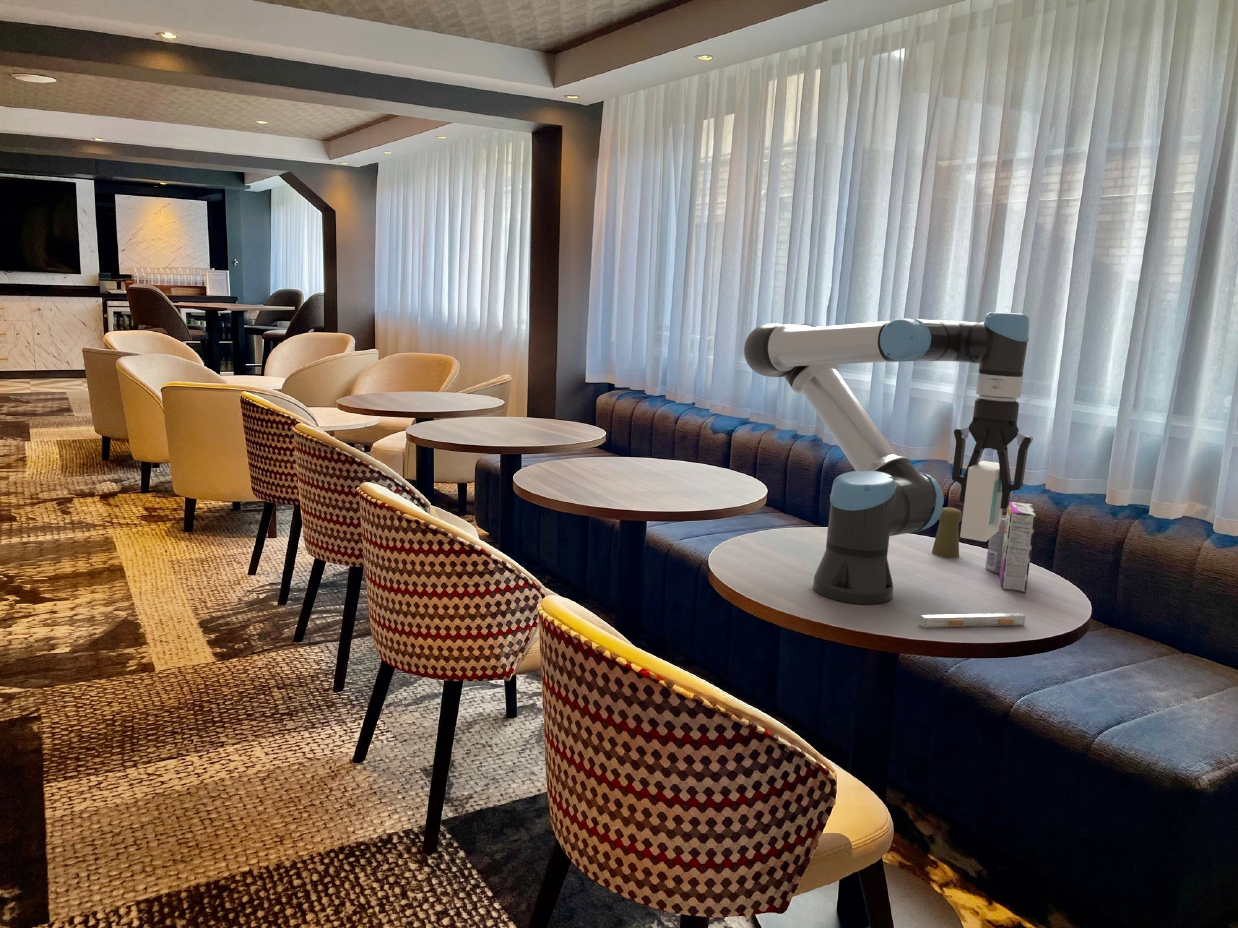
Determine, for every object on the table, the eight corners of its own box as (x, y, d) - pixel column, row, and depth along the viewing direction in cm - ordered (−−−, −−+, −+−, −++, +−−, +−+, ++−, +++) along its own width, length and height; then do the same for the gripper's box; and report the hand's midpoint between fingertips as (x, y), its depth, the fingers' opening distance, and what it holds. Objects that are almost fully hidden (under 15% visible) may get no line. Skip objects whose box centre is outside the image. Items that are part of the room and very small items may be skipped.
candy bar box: (997, 574, 195) (1007, 500, 192) (1022, 578, 193) (1033, 503, 190) (999, 589, 185) (1010, 511, 182) (1026, 593, 183) (1037, 514, 180)
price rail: (924, 628, 159) (925, 618, 158) (919, 624, 161) (920, 614, 160) (1025, 626, 163) (1026, 616, 162) (1018, 622, 165) (1020, 613, 164)
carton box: (960, 537, 166) (968, 467, 164) (973, 526, 175) (982, 460, 173) (986, 541, 163) (995, 471, 161) (999, 530, 172) (1008, 464, 170)
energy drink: (1007, 568, 201) (1014, 515, 198) (1015, 575, 195) (1022, 521, 193) (982, 566, 201) (989, 513, 199) (989, 573, 196) (996, 519, 194)
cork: (929, 549, 213) (934, 504, 211) (955, 551, 212) (961, 506, 210) (934, 556, 207) (940, 509, 205) (961, 558, 206) (967, 512, 204)
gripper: (942, 394, 166) (928, 517, 170) (1047, 405, 157) (1028, 535, 161) (952, 392, 172) (938, 511, 177) (1053, 402, 163) (1036, 527, 167)
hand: (981, 522), depth 169 cm, fingers closed on carton box, 5 cm apart
